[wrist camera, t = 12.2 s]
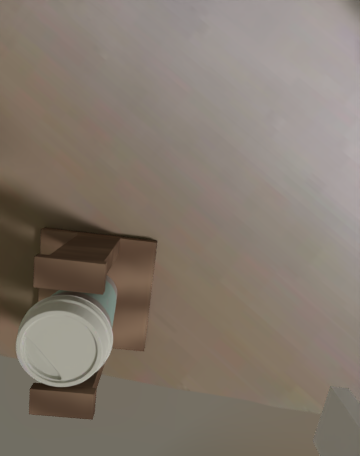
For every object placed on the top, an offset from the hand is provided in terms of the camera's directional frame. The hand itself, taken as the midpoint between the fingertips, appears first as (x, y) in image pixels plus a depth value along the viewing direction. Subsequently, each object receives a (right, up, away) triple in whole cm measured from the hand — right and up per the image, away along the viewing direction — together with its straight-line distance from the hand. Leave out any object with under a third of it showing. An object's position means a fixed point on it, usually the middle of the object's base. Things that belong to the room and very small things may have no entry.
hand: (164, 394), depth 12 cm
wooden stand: (-10, -1, +27) cm, 29 cm away
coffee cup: (-10, -2, +26) cm, 28 cm away
